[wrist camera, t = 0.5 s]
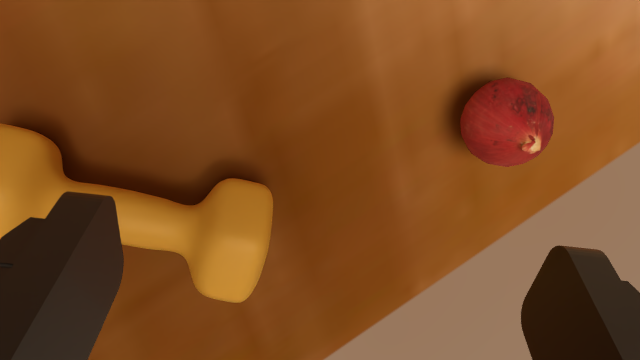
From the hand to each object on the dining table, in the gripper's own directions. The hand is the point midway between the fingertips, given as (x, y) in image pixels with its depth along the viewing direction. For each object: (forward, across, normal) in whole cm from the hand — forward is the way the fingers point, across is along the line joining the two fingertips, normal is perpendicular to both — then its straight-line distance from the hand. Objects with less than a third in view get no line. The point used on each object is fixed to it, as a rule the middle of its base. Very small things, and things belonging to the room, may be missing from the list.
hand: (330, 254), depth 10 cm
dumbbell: (+23, +12, +18) cm, 31 cm away
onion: (+28, -12, +10) cm, 32 cm away
